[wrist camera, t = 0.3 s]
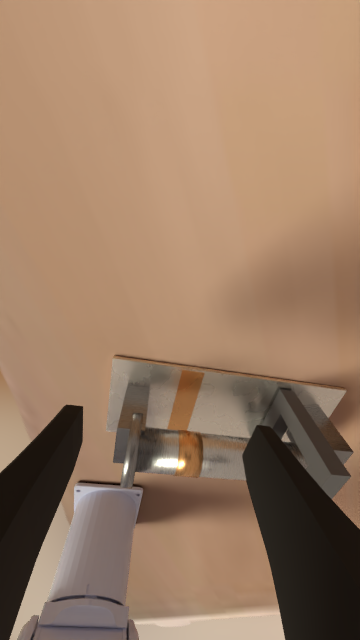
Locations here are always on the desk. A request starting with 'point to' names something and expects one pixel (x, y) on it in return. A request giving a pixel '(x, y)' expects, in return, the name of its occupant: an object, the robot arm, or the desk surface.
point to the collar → (307, 441)
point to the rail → (201, 418)
